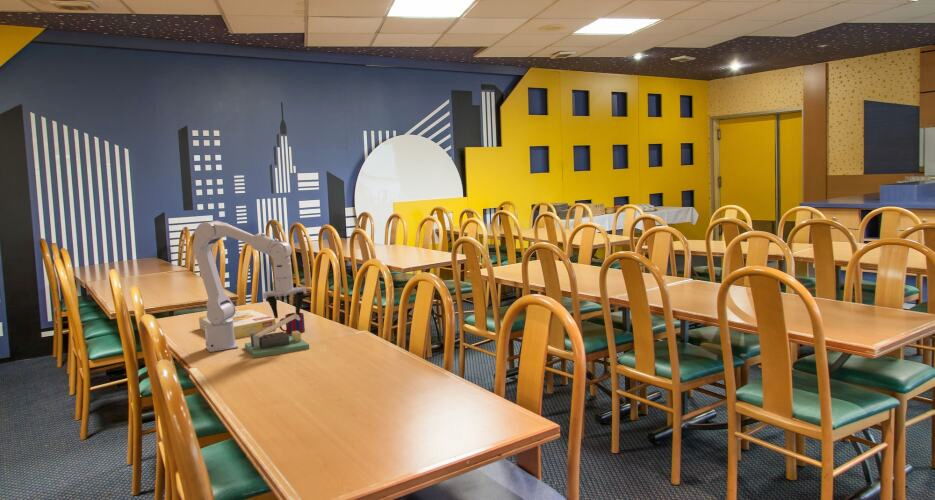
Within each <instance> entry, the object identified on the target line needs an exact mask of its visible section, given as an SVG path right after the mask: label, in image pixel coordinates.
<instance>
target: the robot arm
mask: <svg viewBox="0 0 935 500" xmlns="http://www.w3.org/2000/svg"><path fill="white" fill-rule="evenodd" d="M193 233H194V240H193V244H192V245H193V247H192V249H193V253H194V256H195V260H196V263H197V265H198V269H199V272H200V275H201V279H202V282H203V284H204V285H203V286H204V289H205V291H206V294H207V297H208V298H207V301H206V316H207V318H208V320H209V321H210V322H211V324H209V325H205V331H204V334H205V335H204V336H205V347H206V349H207V351H208V352H210V353H213V352H218V351H224V350H231V349H235V348H239V345H238V344H237V343H236V338H235V336H234V324H233V316H234V314H235V311H236V310H237V309H236V305H234V304H233V302H232V301H231V299H230V296H228V295H227V293H225V291H224V287H223V284H222V280H221V277H220V275H219V271H218V267H217V265H216V261H215V258H214V255H213V253H212V249H213V247H214V246H215V245H216V243H217V242H218V241H219V240H221V239H222V238H227V237H228V238H231V239H234V240H236V241H237V240H238V241H241V242H243V243H246V244H249V245H250V246H251V249H252V250H255V251H258V252H260V253H262V254H265V255H267V256H270V257H271V259H272V260H273V273H274V283H275V284H274V286H275V289H273V290H270V291H263V292H261V293H262V299H266V301H267V302H268V304H269V306H270V308H271V310H272V314H273V316H274V317H273V318H275V319H279V318H278V317H279V315H278V305H277V303H278V300H277V299H276V297H284V296H285V297H286V296H290V295H293V298H294V304H295V307H294V308H295V313H296V314H297V315H300V313H301V307H302V303H303V300H304V299H305V294H307V287H306V286H301V287H300V286H299V287H298V286H297V287H294V283H293V281H294V280H293V273H292V261H291V255H292V254H293V247H292V245H291V244H290V243H289V242H288V241H286V240H282V241H280V240H279V239H278V238H274V237H273V238H272V237H269V236H267V234H266V233H264V232H262V233H259V232H258V233H256V234H252V233H251V232H248V231H245V230H243V229H241V228H238V227H236V226H235V225H231V224H229V223H228V222H222V221H221V220H217V219H216V220H212V221H207V222H202V223H199V224H198V225H197V227H196V228H195V230H194V231H193Z"/></svg>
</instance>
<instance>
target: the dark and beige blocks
mask: <svg viewBox="0 0 935 500" xmlns="http://www.w3.org/2000/svg"><path fill="white" fill-rule="evenodd" d="M255 334H256V333H255V332H253V333H250V336H249V338H250V342H251V346H254V349H255V350H256V349H260V347H261V348H262V349H266V348H272V347H278V346H285V345H290V342H289V336H290V335H289V334H287V333H286V332H285V331H279V332H273V333H267V334H265V335H263V336H261V337H259V336H258V335H256V336H253V335H255ZM301 334H302V333H300V332H299V331H292V334H291V336H292V340H293V341H295V342H300V341H301V339H302V336H301Z"/></svg>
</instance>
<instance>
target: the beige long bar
mask: <svg viewBox="0 0 935 500" xmlns="http://www.w3.org/2000/svg"><path fill="white" fill-rule="evenodd" d="M294 313H295V314H294V315H291V316H289V317H288V318H286V319H284V320H282V321H280V320H279V321H280V322H275V323H276V324H274V325H272V326H270V327H269V328H267V329H265V330H263V331H261V332H259V333H257V334H255V335H253V336H256V335H258V336H259V337H261V336H263V335H265V334H270V332H274V331H273V330H275V329H276V330H277V329H278V328H280V326H281V327H282V326H284V325H286V323H288V322H290V321H292V320H293V319H295V318H296V319H297V320H298V321H299V320H301V319H300V317H299V315H297V314H296V312H294ZM276 330H275V331H276Z"/></svg>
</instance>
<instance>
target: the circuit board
mask: <svg viewBox="0 0 935 500" xmlns="http://www.w3.org/2000/svg"><path fill="white" fill-rule="evenodd" d="M288 336H289V342H290V345H285V346H278V347H272V348H266V349H262V348H261V347H260V349H256V350H255V349H254V346H251V341H250V342H245V343H244V348H245V350H247V351H248V353H249V354H250V355H251V356H252V357H253V358H254V359H258V358H263V357H269V356H275V355H280V354H286V353H292V352H299V351H303V350H309V349H310V343H308V342H306V341H305V340H304V339H302V338H301V341H300V342H295V341H293V340H292V335H288Z"/></svg>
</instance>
